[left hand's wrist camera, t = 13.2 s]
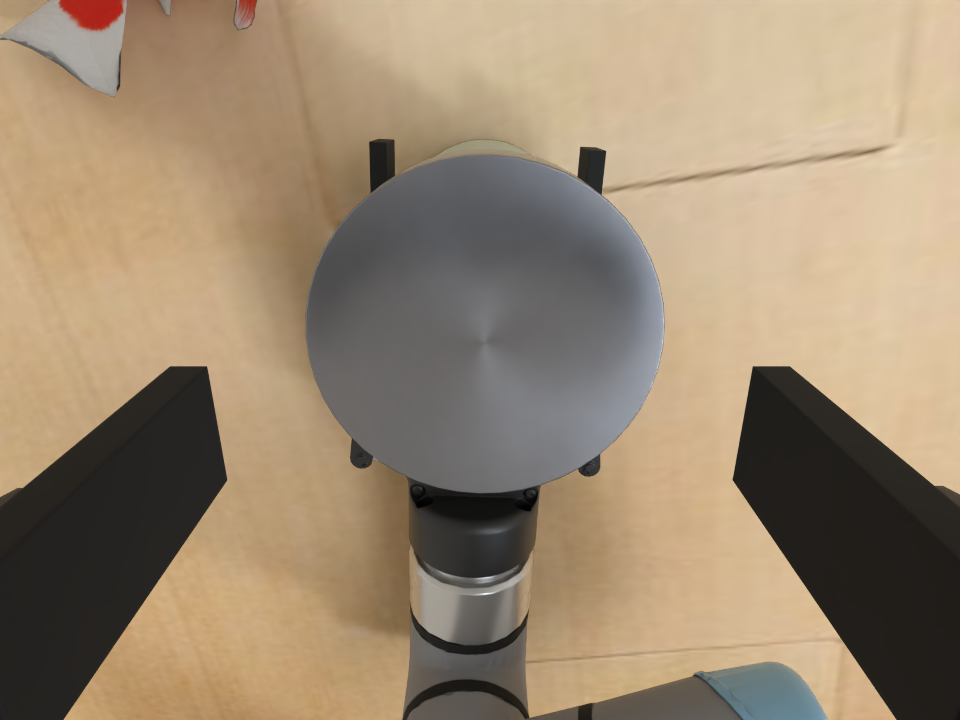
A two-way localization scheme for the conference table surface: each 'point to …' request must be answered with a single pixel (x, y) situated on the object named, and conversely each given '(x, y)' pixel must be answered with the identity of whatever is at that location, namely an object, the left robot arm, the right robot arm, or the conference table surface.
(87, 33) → the fish
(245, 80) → the conference table surface
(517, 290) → the lid
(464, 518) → the right robot arm
